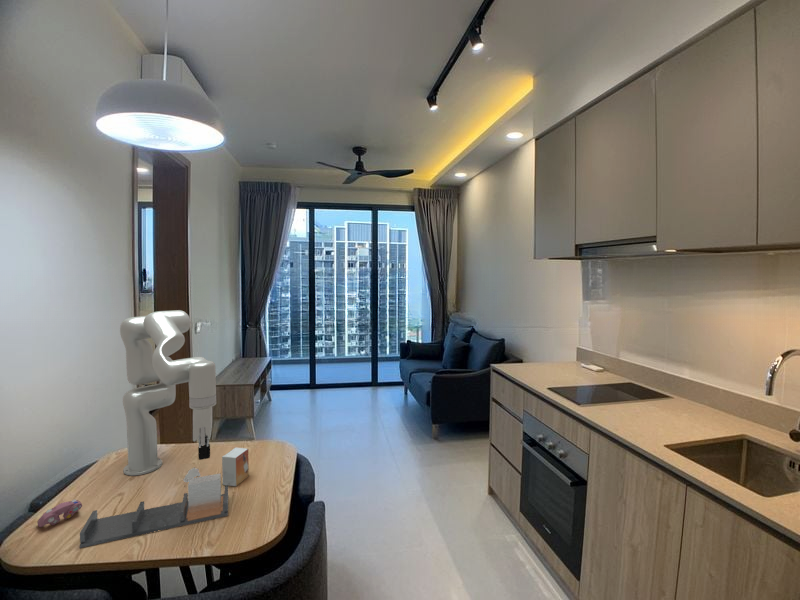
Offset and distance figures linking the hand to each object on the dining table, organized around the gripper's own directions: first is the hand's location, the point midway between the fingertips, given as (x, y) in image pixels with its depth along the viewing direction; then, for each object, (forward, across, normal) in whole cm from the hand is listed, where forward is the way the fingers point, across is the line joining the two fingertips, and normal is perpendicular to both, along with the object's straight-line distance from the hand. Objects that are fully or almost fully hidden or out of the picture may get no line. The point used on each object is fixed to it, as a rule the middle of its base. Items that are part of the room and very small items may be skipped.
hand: (204, 457), depth 123 cm
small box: (+17, -16, +9) cm, 25 cm away
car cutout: (+18, -20, -9) cm, 28 cm away
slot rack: (+17, 0, -12) cm, 21 cm away
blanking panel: (+16, 0, 0) cm, 16 cm away
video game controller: (+17, -11, -40) cm, 45 cm away
